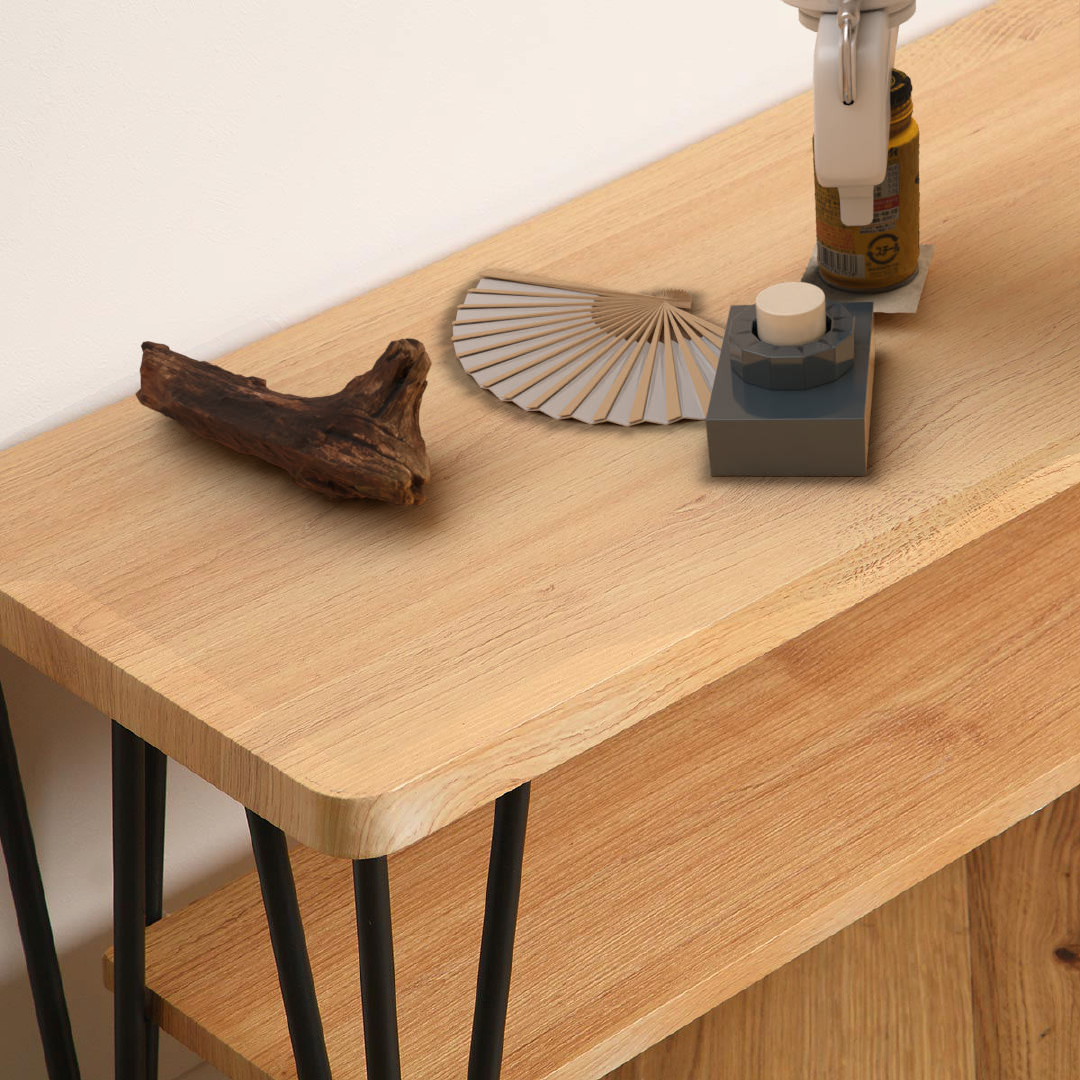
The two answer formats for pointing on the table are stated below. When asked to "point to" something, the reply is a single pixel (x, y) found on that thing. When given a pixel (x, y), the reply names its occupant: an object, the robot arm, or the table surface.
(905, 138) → the condiment
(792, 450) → the grey socket base
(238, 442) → the driftwood
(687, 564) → the table surface
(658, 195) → the table surface
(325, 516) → the table surface
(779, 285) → the cream cylinder plug
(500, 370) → the hand fan
